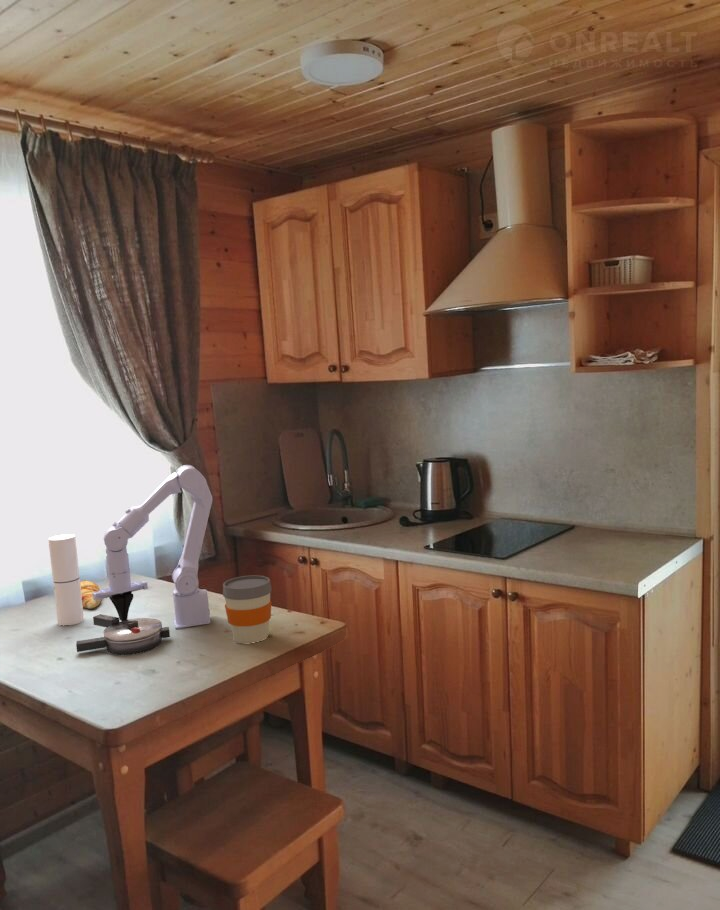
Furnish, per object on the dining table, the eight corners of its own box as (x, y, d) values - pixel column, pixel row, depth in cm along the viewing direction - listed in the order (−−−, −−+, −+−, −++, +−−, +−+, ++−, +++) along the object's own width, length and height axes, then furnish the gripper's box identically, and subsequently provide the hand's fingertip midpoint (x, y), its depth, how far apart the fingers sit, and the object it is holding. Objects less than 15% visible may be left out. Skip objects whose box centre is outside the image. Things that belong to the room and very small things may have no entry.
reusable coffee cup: (250, 626, 206) (245, 573, 205) (285, 633, 199) (280, 578, 197) (216, 641, 196) (211, 585, 195) (251, 650, 189) (247, 591, 187)
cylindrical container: (68, 627, 215) (58, 541, 212) (52, 623, 219) (42, 539, 216) (89, 619, 221) (80, 535, 218) (73, 616, 225) (64, 533, 222)
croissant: (104, 619, 231) (114, 594, 232) (73, 611, 226) (83, 585, 227) (85, 602, 249) (95, 579, 250) (55, 594, 243) (65, 570, 244)
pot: (168, 630, 207) (166, 618, 207) (172, 648, 193) (170, 635, 193) (78, 644, 200) (77, 632, 200) (76, 664, 187) (74, 650, 186)
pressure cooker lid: (174, 625, 199) (173, 617, 199) (130, 645, 187) (129, 635, 187) (119, 615, 211) (118, 607, 210) (74, 633, 198) (73, 624, 198)
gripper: (138, 563, 212) (143, 610, 214) (86, 574, 204) (91, 623, 205) (148, 567, 207) (153, 616, 208) (95, 579, 198) (100, 629, 200)
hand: (123, 620), depth 206 cm, fingers closed
